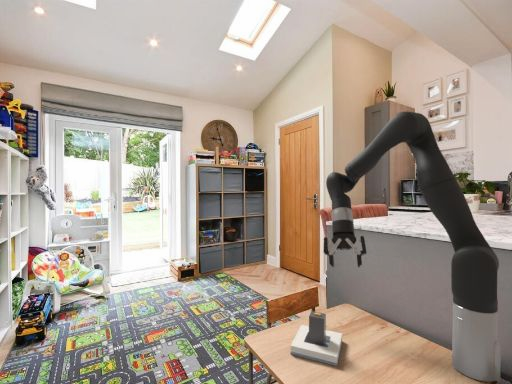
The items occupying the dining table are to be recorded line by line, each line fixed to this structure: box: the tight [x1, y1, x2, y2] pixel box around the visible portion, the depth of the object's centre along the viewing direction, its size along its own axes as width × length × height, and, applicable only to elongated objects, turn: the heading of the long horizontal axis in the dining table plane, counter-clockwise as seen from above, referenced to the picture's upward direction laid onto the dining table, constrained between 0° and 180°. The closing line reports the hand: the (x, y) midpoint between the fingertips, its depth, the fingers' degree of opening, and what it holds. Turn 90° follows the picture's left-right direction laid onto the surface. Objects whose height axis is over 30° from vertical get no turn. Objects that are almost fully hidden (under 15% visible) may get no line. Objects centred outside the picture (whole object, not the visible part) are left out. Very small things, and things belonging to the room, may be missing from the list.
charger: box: [308, 311, 327, 347], centre depth 81 cm, size 4×4×9 cm
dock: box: [290, 324, 343, 367], centre depth 81 cm, size 13×13×2 cm
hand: (345, 266), depth 92 cm, fingers open, 8 cm apart
